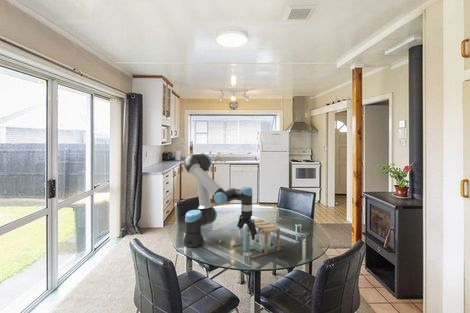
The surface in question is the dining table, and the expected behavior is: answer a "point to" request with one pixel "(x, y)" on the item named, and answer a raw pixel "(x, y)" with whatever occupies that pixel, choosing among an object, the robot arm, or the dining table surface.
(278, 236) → the wooden slat rack
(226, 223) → the dining table surface
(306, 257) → the dining table surface
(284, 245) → the pit
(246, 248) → the sled
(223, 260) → the dining table surface
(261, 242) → the cup
